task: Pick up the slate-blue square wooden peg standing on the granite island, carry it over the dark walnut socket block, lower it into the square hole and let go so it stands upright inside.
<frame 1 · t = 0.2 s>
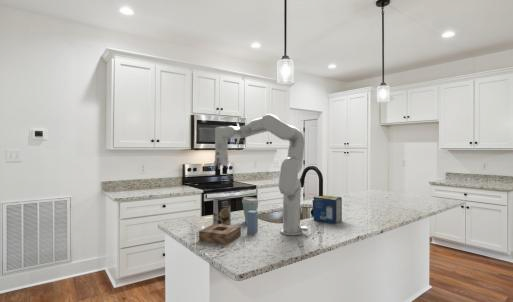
hand: (221, 174, 179), 31 cm above the counter, fingers open, 9 cm apart
protein box: (327, 220, 191), on the counter
coffee box: (221, 225, 180), on the counter
disposable coffee cup: (250, 221, 188), on the counter
peg: (252, 232, 163), on the counter
socket block: (220, 238, 153), on the counter
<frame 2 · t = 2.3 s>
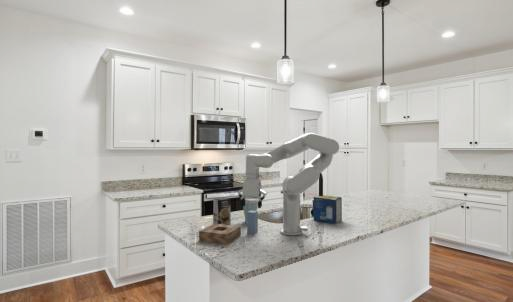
hand: (251, 207, 162), 14 cm above the counter, fingers open, 9 cm apart
nothing on the counter moved.
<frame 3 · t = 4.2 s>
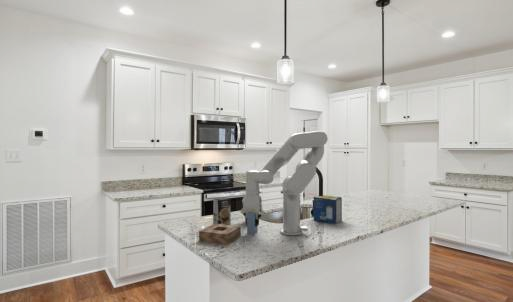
hand: (252, 225, 162), 4 cm above the counter, fingers closed on peg, 4 cm apart
peg: (252, 232, 163), on the counter, touching gripper
everything else where it was.
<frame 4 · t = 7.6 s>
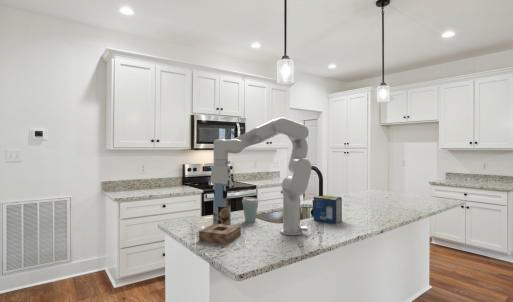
hand: (220, 197, 153), 21 cm above the counter, fingers closed on peg, 4 cm apart
peg: (220, 205, 153), point 17 cm above the counter, touching gripper
everything else where it was.
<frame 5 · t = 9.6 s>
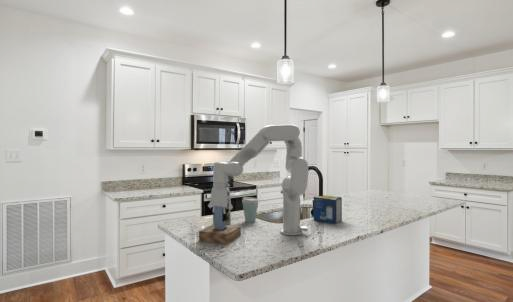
hand: (220, 220, 153), 10 cm above the counter, fingers closed on peg, 4 cm apart
peg: (220, 228, 153), point 5 cm above the counter, touching gripper
everything else where it was.
when the fingers open (7 cm above the counter, at t = 11.1 s): peg drops 2 cm, resting in socket block.
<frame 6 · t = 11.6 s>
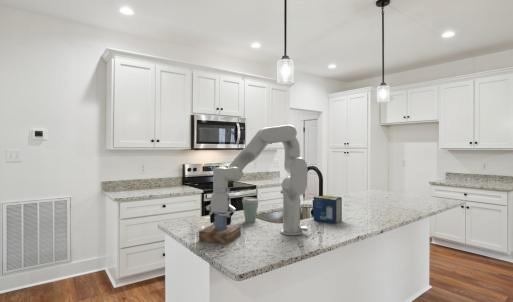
hand: (220, 223, 153), 8 cm above the counter, fingers open, 9 cm apart
peg: (220, 238, 153), resting in socket block
everything else where it was.
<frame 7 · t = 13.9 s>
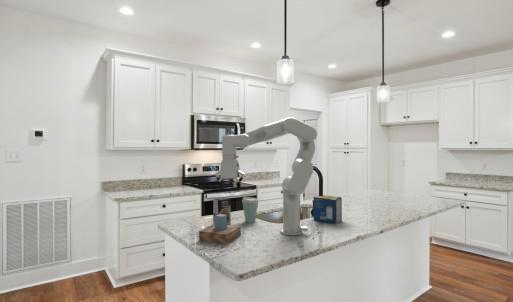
hand: (230, 189, 158), 25 cm above the counter, fingers open, 9 cm apart
nothing on the counter moved.
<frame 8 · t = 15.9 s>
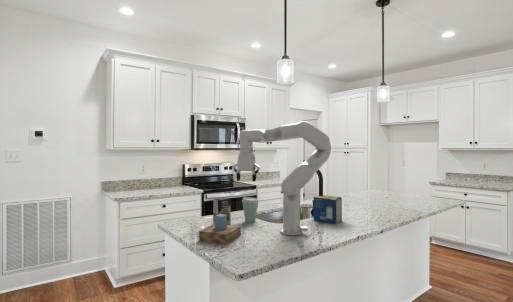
hand: (246, 180, 169), 28 cm above the counter, fingers open, 9 cm apart
nothing on the counter moved.
at the end: peg 0.2 cm off-centre on the socket block, point 0.0 cm above the socket block's base; peg tilted 0°; the gripper is holding nothing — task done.
